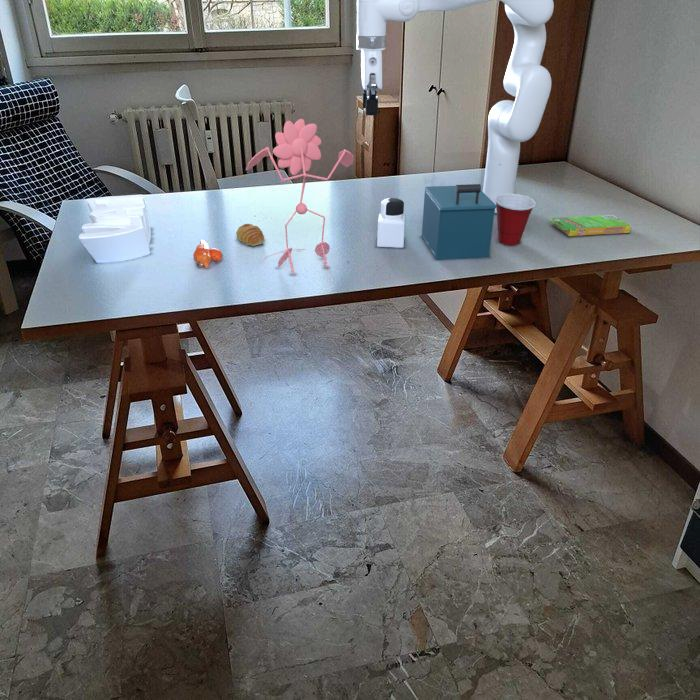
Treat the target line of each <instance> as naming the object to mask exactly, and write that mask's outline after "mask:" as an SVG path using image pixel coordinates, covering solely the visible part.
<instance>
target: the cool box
mask: <svg viewBox="0 0 700 700" xmlns="http://www.w3.org/2000/svg"><path fill="white" fill-rule="evenodd" d="M494 212H495V209H468V210H440V208H439V207H438V206H437V204H436V203H435V202H434V201H433V199H432V198H431V197H430V195H429V194H428V193H427V192H426V190H425V189H424V197H423V212H422V227H421V238H422V239H423V241H424V243H425V244H426V246H427V248H428V250H430V253H431V254H432V256H433V257H434V259H435V260H437V261H439V260H458V259H481V258H490V253H491V244H492V235H493V228H494V221H495V213H494Z"/></svg>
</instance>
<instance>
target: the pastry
mask: <svg viewBox="0 0 700 700" xmlns="http://www.w3.org/2000/svg"><path fill="white" fill-rule="evenodd" d="M235 235H236V238H237V240H238V241H239V242H240V243H242V244H243V245H246V246H252V247H256V246H258V245H262V244H264V242H265V235H264V234H263V231H262V230H261V228H260V227H259V226H257V225H254V224H253V223H244V224H242V225H240V226H239V227H238V228H237V230H236V232H235Z"/></svg>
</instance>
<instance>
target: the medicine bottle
mask: <svg viewBox="0 0 700 700" xmlns="http://www.w3.org/2000/svg"><path fill="white" fill-rule="evenodd" d="M404 210H405V202H404V201H403V200H402V199H400V198H398V197H388V198H387V197H386V198H384V199H383V200H381V202H380V212H379V214H378V218H377V233H376V235H377V237H376V247H377V248H394V249H404V248H405V235H406V234H405V232H406V216H407V215H406V214H404V212H405V211H404Z"/></svg>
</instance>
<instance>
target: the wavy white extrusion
mask: <svg viewBox="0 0 700 700" xmlns="http://www.w3.org/2000/svg"><path fill="white" fill-rule="evenodd" d="M86 205H87V206H88V208H89V211H90V212H89V213H88V216H89V218H90V220H91V222H92V223H84V224H83V225H82V226H81V230H82V233H79V235H78V240H79V241H80V242H81V244H82V245H83V246H84V247H85V249H86V251H87V252H88V253H89V254H90V256H91V257H92V258H93V259H94V261H95V262H96V263H97V264H108V263H109V264H110V263H118V262H119V263H120V262H126V261H131V260H136V259H140V258H142V257H145V256H146V257H147V256H148V255H150V254H151V252H150V250H151V247H150V244H151V240H152V239H151V238H152V237H151V230H152V229H151V223H150V217H149V211H148V205H147V199H146V198H145V195H144V194H127V195H110V196H102V197H101V196H99V197H91V198H90V197H89V198H87V199H86Z"/></svg>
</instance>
